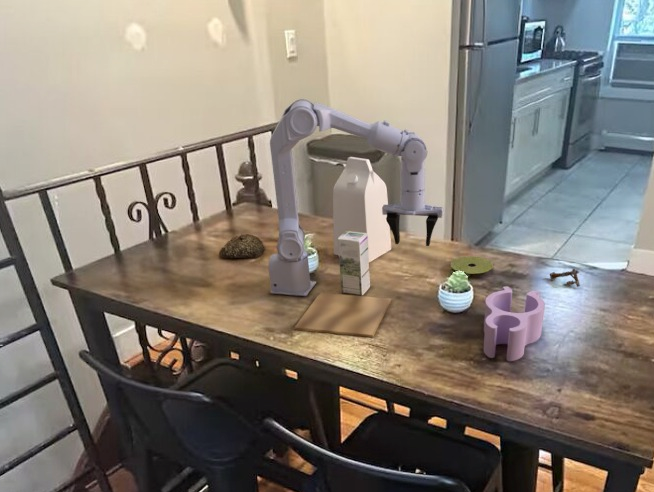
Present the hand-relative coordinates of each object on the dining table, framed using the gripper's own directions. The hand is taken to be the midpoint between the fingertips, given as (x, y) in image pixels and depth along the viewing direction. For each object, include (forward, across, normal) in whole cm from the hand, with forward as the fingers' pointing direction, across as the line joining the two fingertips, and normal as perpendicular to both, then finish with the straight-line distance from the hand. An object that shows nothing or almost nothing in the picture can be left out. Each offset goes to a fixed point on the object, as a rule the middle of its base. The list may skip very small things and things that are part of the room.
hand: (412, 243), depth 148 cm
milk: (+11, -18, +18) cm, 27 cm away
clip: (+11, +26, -24) cm, 37 cm away
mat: (+11, +14, +9) cm, 20 cm away
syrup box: (+11, -13, -7) cm, 18 cm away
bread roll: (+10, -52, +12) cm, 54 cm away
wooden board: (+10, -12, -20) cm, 26 cm away
